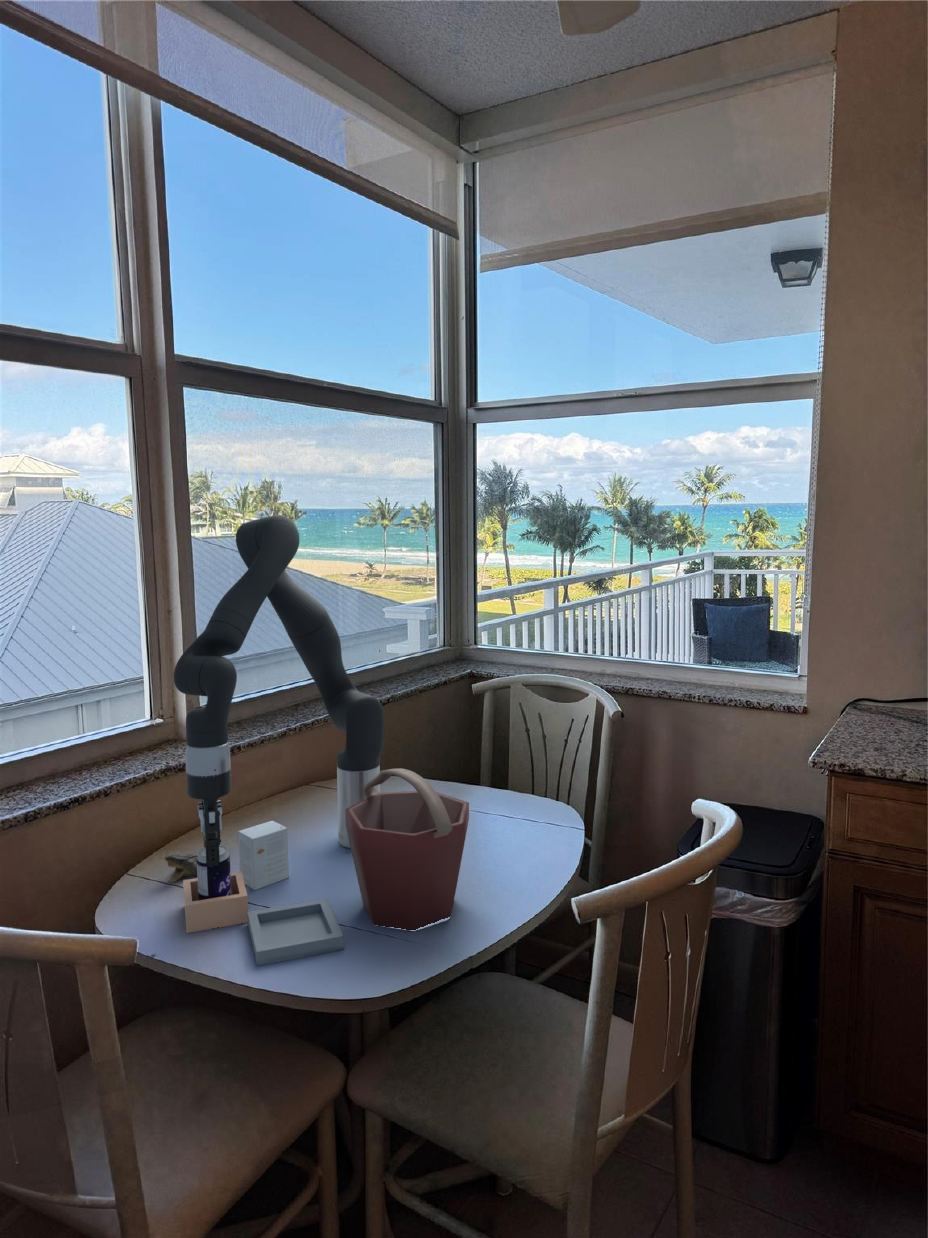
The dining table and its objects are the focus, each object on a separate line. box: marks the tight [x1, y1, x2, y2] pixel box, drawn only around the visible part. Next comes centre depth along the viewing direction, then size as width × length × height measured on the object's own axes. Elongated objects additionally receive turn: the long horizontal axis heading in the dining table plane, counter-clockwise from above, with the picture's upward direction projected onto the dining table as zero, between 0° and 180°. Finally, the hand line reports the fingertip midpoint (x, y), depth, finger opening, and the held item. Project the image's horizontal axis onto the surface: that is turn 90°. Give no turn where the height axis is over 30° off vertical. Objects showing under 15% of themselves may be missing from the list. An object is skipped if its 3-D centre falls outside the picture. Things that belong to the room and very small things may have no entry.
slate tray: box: [247, 898, 345, 967], centre depth 140 cm, size 14×14×2 cm
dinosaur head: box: [164, 853, 198, 883], centre depth 162 cm, size 8×6×7 cm
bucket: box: [345, 767, 470, 930], centre depth 149 cm, size 24×22×25 cm
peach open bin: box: [182, 871, 249, 934], centre depth 148 cm, size 10×10×5 cm
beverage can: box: [196, 844, 232, 900], centre depth 147 cm, size 6×6×12 cm
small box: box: [237, 820, 290, 891], centre depth 161 cm, size 8×6×10 cm
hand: (211, 855), depth 147 cm, fingers open, 8 cm apart
